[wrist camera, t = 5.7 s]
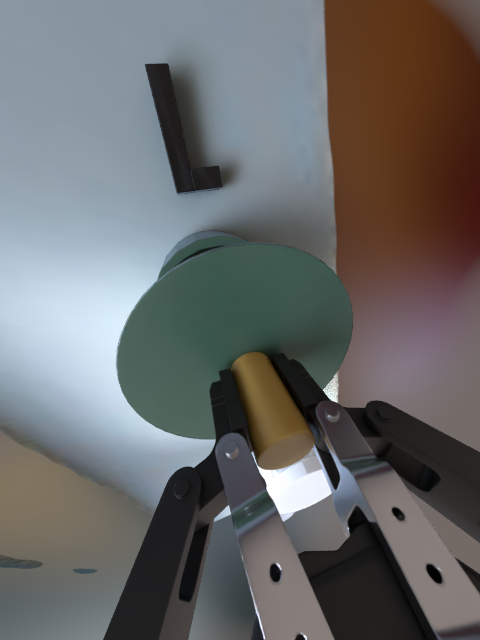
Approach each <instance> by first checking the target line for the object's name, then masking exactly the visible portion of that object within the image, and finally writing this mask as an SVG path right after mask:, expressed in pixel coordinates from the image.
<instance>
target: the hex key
mask: <svg viewBox="0 0 480 640" xmlns="http://www.w3.org/2000/svg"><path fill="white" fill-rule="evenodd" d="M145 67H146V71H147V75H148V79H149V83H150V87H151V91H152V95H153V99H154V103H155V107H156V111H157V115H158V119H159V123H160V127H161V131H162V135H163V139H164V143H165V147H166V151H167V155H168V159H169V163H170V167H171V171H172V175H173V179H174V184H175V188H176V192H177V194H178V195H179V194H187V193H193V192H202V191H210V190H217V189H220V188H221V187H222V183H221V176H220V169H219V166H212V167H203V168H194V169H190V166H189V162H188V157H187V152H186V147H185V142H184V138H183V133H182V128H181V123H180V118H179V114H178V109H177V104H176V99H175V94H174V90H173V85H172V80H171V75H170V70H169V65H168V64H167V63H165V64H145Z"/></svg>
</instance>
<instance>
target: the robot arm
mask: <svg viewBox="0 0 480 640" xmlns="http://www.w3.org/2000/svg"><path fill="white" fill-rule="evenodd" d="M271 363H272V365H273V366H274V368H275V370H276V371H277V373H278V375H279V376H280V378H281V380H282V381H283V383H284V385H285V387H286V388H287V390H288V392H289V393H290V395H291V397H292V398H293V400H294V402H295V403H296V405H297V407H298V409H299V410H300V412H301V414H302V415H303V417H304V419H305V420H306V422H307V424H308V426H309V427H310V429H311V431H312V432H313V434H314V436H315V445H314V447H313V448H314V451H315V453H316V456H317V458H318V461H319V463H320V465H321V468H322V470H323V473H324V475H325V477H326V480H327V482H328V485H329V487H330V490H331V493H332V496H333V502H334V506H335V509H336V512H337V515H338V518H339V520H340V523H341V525H342V528H343V530H344V533H345V535H346V538H347V540H346V541H345V542H344V543H343V545H342V546H341V547H340V548H339V549H338V550H335V551H304V552H302V553H300V554H298V555H297V553H296V550H295V548H294V546H293V543H292V541H291V539H290V537H289V534H288V532H287V530H286V528H285V525H284V523H283V521H282V518H281V516H280V514H279V511H278V509H277V507H276V505H275V503H274V501H273V499H272V498H271V496H270V495H269V493H268V491H267V488H266V486H265V484H264V481H263V479H262V477H261V474H260V472H259V470H258V468H257V465H256V463H255V461H254V458H253V456H252V454H251V452H253V449H252V446H251V442H250V433H249V428H248V423H247V420H246V417H245V414H244V410H243V407H242V404H241V401H240V397H239V394H238V391H237V388H236V384H235V381H234V378H233V375H232V371H231V368H228V369H224V370H221V371H219V376H220V380H219V381H216V382H213V383H212V384H211V387H210V390H209V393H210V399H211V406H212V413H213V420H214V427H215V433H216V442H215V446H214V448H213V450H212V452H211V453H210V455H209V456H208V457H207V458H206V459H205V460H203V461H202V462H201V463H199V464H198V465H197V466H196V467H194V468H193V467H183V468H181V469H179V470H177V471H176V472H175V473H174V474H173V475H172V476H171V477H170V479H169V480H168V482H167V484H166V487H165V489H164V492H163V494H162V497H161V499H160V501H159V504H158V506H157V509H156V511H155V514H154V516H153V519H152V521H151V524H150V526H149V529H148V531H147V533H146V536H145V538H144V541H143V543H142V546H141V548H140V551H139V553H138V555H137V558H136V560H135V563H134V565H133V568H132V570H131V573H130V575H129V578H128V580H127V582H126V585H125V588H124V590H123V592H122V595H121V597H120V600H119V602H118V605H117V607H116V609H115V612H114V615H113V617H112V619H111V622H110V624H109V627H108V629H107V632H106V634H105V637H104V639H103V640H188V638H189V633H190V628H191V624H192V619H193V615H194V609H195V605H196V601H197V596H198V591H199V587H200V582H201V577H202V573H203V568H204V563H205V558H206V554H207V549H208V545H209V540H210V535H211V530H212V526H213V522H214V518H215V517H216V516H217V515H218V514H219V513H221V512H222V511H223V510H224V509H225V508H226V507H227V506H228V505H229V507H230V511H231V515H232V519H233V525H234V529H235V533H236V537H237V541H238V545H239V549H240V552H241V556H242V560H243V563H244V567H245V571H246V575H247V578H248V581H249V586H250V589H251V593H252V597H253V601H254V604H255V608H256V614H255V618H254V623H253V628H252V634H251V640H480V574H479V573H477V572H476V571H474V570H473V569H472V568H470V567H469V566H467V565H466V564H464V563H463V562H461V561H460V560H458V559H457V558H456V557H454V556H453V554H452V553H451V551H450V550H449V548H448V547H447V546H446V544H445V543H444V541H443V540H442V538H441V537H440V535H439V534H438V532H437V531H436V529H435V528H434V527H433V525H432V524H431V522H430V521H429V519H428V518H427V517H426V515H425V514H424V512H423V511H422V509H421V508H420V507H419V505H418V504H417V502H416V501H415V499H414V498H413V496H412V495H411V493H410V492H409V490H410V491H411V492H413V493H414V494H415V495H417V496H418V497H419V498H421V499H422V500H423V501H425V502H426V503H427V504H429V505H430V506H431V507H433V508H434V509H435V510H437V511H438V512H439V513H441V514H442V515H443V516H445V517H446V518H447V519H449V520H450V521H451V522H453V523H454V524H455V525H457V526H458V527H459V528H461V529H462V530H463V531H465V532H466V533H467V534H469V535H470V536H471V537H473V538H474V539H475V540H477V541H478V542H479V543H480V452H478V451H476V450H475V449H473V448H471V447H469V446H467V445H465V444H463V443H461V442H460V441H457V440H456V439H454V438H452V437H450V436H448V435H446V434H444V433H443V432H441V431H439V430H437V429H435V428H433V427H431V426H429V425H428V424H426V423H424V422H422V421H420V420H418V419H416V418H414V417H412V416H410V415H409V414H407V413H405V412H403V411H401V410H399V409H397V408H396V407H394V406H392V405H390V404H388V403H385V402H382V401H371V402H369V403H368V404H367V405H366V407H365V408H346V407H342V406H341V405H340V404H338V403H336V402H333V401H331V400H330V399H329V398H328V397H327V395H326V394H325V393H324V392H323V390H322V389H321V388H320V387H319V385H318V384H317V383H316V381H315V380H314V379H313V378H312V377H311V375H310V374H309V373H308V371H307V370H306V369H305V368H304V366H303V365H302V364H301V363H300V362H298V361H297V360H295V359H291V360H288V358H287V357H286V355H285V354H284V353H280V354H277V355H273V356H271ZM408 489H409V490H408Z"/></svg>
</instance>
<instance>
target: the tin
mask: <svg viewBox="0 0 480 640" xmlns="http://www.w3.org/2000/svg"><path fill="white" fill-rule="evenodd" d="M238 243H248V241H246V240H244V239H242V238H239V237H237V236H234V235H232V234H229V233H224V232H219V231H212V230H211V231H203V232H199V233H195V234H192V235H190V236H188V237H186V238H185V239H183V240H182V241H180V242H179V243H177V245H176V246H175V247H174V248H173V249H172V250H171V252H170V253H169V254H168V255H167V257H166V259H165V262H164V264H163V266H162V269H161V271H160V274H159V277H158V279H160V278H161V277H162V276H163V275H165V274H166V273H167V272H168V271H170V270H171V269H172V268H174V267H176V266H177V265H179V264H181V263H183V262H184V261H186V260H188V259H189V258H191V257H194V256H196V255H199V254H201V253H204V252H206V251H208V250H211V249H215V248H219V247H223V246H227V245H230V244H238ZM158 279H157V280H158Z"/></svg>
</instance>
